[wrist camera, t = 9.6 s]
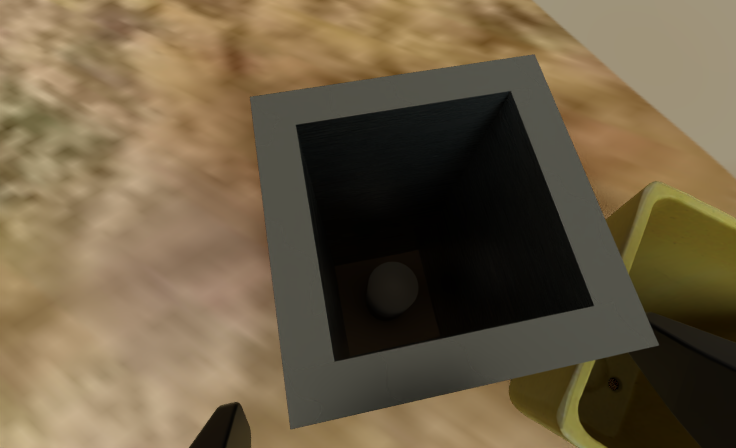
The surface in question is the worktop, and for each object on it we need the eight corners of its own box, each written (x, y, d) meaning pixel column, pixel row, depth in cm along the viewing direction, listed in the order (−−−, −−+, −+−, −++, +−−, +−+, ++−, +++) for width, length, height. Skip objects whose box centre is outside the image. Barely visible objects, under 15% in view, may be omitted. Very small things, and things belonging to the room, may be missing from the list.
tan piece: (480, 367, 19) (522, 371, 14) (320, 402, 18) (307, 420, 13) (439, 217, 21) (462, 178, 16) (297, 244, 20) (278, 211, 16)
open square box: (460, 350, 18) (659, 345, 6) (336, 377, 17) (290, 430, 6) (429, 232, 20) (534, 54, 8) (316, 254, 19) (250, 96, 7)
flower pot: (534, 246, 21) (655, 171, 12) (689, 332, 20) (944, 315, 11) (462, 395, 18) (553, 430, 10) (635, 505, 17) (914, 658, 8)
